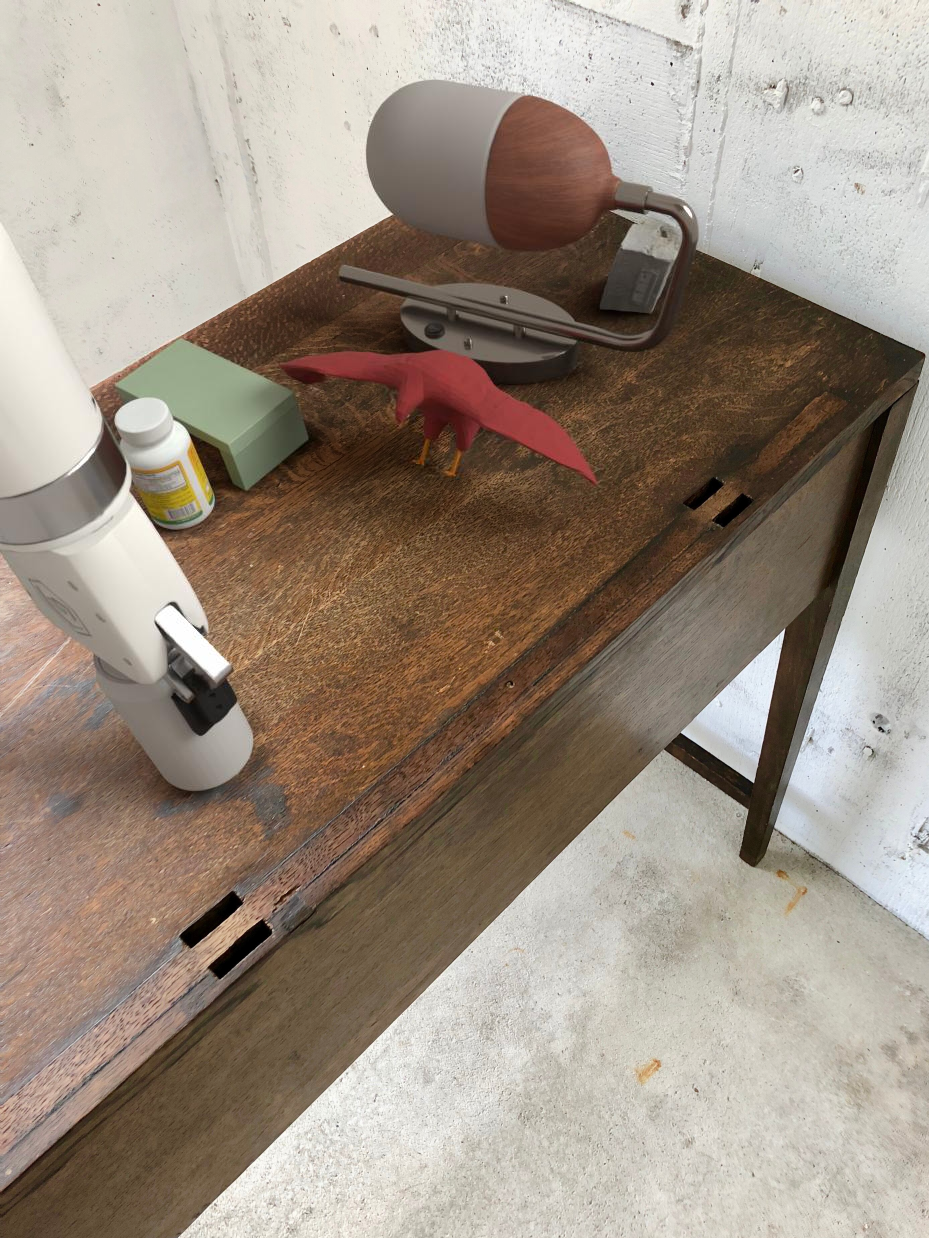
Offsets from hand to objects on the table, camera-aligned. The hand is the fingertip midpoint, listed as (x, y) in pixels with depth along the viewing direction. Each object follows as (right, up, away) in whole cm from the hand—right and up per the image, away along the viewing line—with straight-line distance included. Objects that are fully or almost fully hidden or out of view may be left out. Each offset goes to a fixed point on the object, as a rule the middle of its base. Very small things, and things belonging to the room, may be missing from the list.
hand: (175, 688), depth 59 cm
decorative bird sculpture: (+16, +19, +21) cm, 33 cm away
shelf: (-5, +22, +25) cm, 33 cm away
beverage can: (0, -5, +6) cm, 7 cm away
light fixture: (+20, +31, +29) cm, 47 cm away
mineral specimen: (+33, +36, +32) cm, 58 cm away
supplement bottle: (-6, +14, +20) cm, 25 cm away
